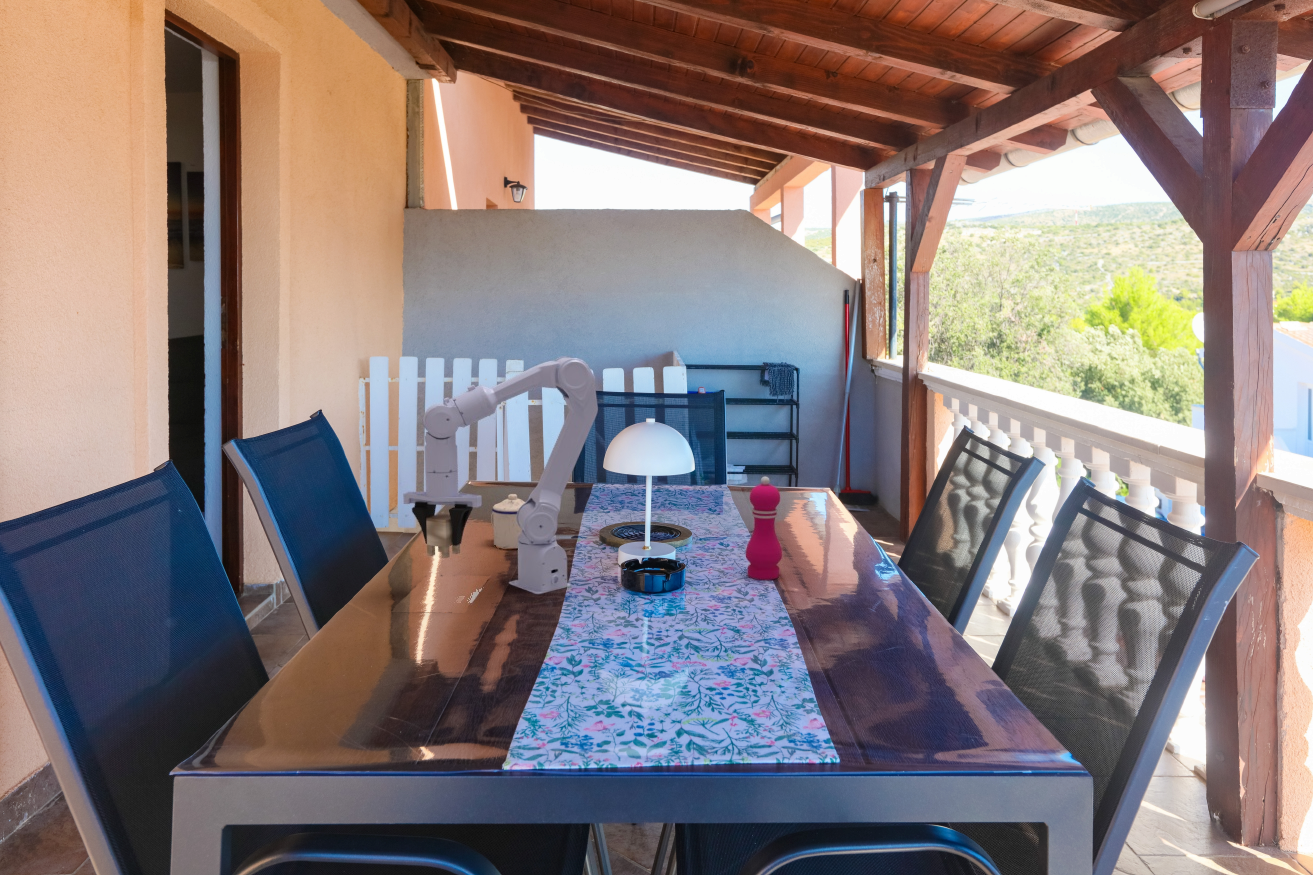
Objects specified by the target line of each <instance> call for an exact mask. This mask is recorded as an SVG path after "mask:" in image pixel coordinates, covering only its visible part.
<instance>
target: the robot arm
mask: <svg viewBox="0 0 1313 875" xmlns="http://www.w3.org/2000/svg"><path fill="white" fill-rule="evenodd" d="M536 388H545V389H546V388H547V389H557V391H558V392H560V394H561V395H562V398H563V399H564V401H565V404H566V405H567V408H568V413H567V415H566V418H565V420H564V422H563V425H562V427H561V429H560V432H559V433H558V435H557V438H556V442H555V443H554V445H553V448H552V450H551V452H550V455H549V457H548V459H547V462H546V464H545V467H544V469H543V471H542V473H541V475H540V478H539V480H538V483H537V485H536V486H535V488H534V489H533V490H532V491H531V492H530V494H529V497H528V498H527V500H526V501H524V502H525V503H524V504H523V505H522V506H521V507H520V508H519V510H518V512H517V517H516V518H517V523H518V525H519V526H520V528H521V529H522V531H521V534H520V535H519V536H518V550H517V574H518V575H517V578H518V579H515V580H512V581H509V582H508V584H509V585H511V586H514V587H516V588H520V589H522V590H525V591H527V592H530V593H533V594H535V595H541V594H544V593H548V592H552V591H556V590H560V589H564V588H568V587H571V583H569V582H568V556H567V552H566V550H565V549H564V548H563V547H561V546H560V545H559V544H558V542H557V535H556V533H557V530H558V516H559V513H560V510H561V502H562V496H563V495H564V491H565V489H566V486H568V483H569V480H570V478H571V475H572V472H573V470H574V468H575V466H576V464H577V461H578V459H579V456H580V455H581V452H582V450H583V447H584V445H585V443H586V440H587V438H588V435H589V433H590V431H591V429H592V426H593V425H594V422H595V420H596V417H597V414H598V412H599V411H598V410H599V406H598V400H597V399H598V398H597V391H596V376H595V375H594V373H593V372H592V369H591V368H590V366H589V365H588V364H587V362H585V360H582V359H581V358H576V357H575V358H574V357H573V358H572V357H569V356H560V357H558V358H556V359H554V360H549V361H545V362H542V363H539V364H536V365H535V366H532V367H530V368H528V369H526V370H525V371H522V372H520V373H519V374H516V375H515V376H512V377H510V378H508V379H506V380H504V381H503V382H501V383H498V384H497V385H494V386H492V387H487V386H485V385H482V384H480V385H478V386H475V384H472V385H469V386H468V387H467V391H464V392H463V393H460V394H458V395H456V396H454V397H451V398H450V397H445V398H443V402H444V404H443V403H437V404H433V405H431V406H430V407H428V408H427V409H426V411H425V412H424V414H423V418H422V420H421V421H422V424H423V427H424V429H425V430H426V432H425V436H424V440H425V446H424V465H425V466H424V469H425V491H407V492H404V493H403V494H402V495H403V504H405V505H410V504H414V506H413V507H412V508H411V513H412V514H413V515H414V517H415V518H416V520H417V522H418V524H419V526H420V529H421V531H422V535H423V538H424V541H425V542H424V543H425V544H426V545H427V523H426V518H428V517H432V516H435V515H436V508H437V505H438V506H453V507H451V508H448V513H449V515H450V517H451V523H452V541H453V546H457V545H459V544H460V545H461V544H462V540H463V537H464V536H463V535H464V530H465V527H466V524H467V522H468V518H469V517H470V516H471V513H472V512H473V510H474V508H476V509H478V508H480V507H482V504H483V503H482V502H483V501H482V499H483V498H482V495H479V494H473V493H472V494H471V493H466V492H465V493H464V492H459V474H458V472H459V471H458V470H459V469H458V466H459V464H458V445H457V440H456V439H457V438H456V434H457V431H458V429H459V428H462V429H463V428H465V427H467V426H470V425H472V424H475V423H476V422H479V421H481V420H483V419H485V418H487V417H490V416H492V415H494V414H495V413H496V411H497V408H498V405H499V404H501V403H503V402H506V401H507V400H511V399H512V398H515V397H518V396H520V395H522V394H524V393H527V392H529V391H533V390H534V389H536Z"/></svg>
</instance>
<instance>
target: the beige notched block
mask: <svg viewBox="0 0 1313 875" xmlns="http://www.w3.org/2000/svg"><path fill="white" fill-rule="evenodd" d="M426 523H427V544H426V551H427V552H426V556H428V557H434V556H436V547H437V552H438V553H441V558H443V559H447V558H450V547H451V549H452V550H451V551H452V552H451V554H453V555H459V554H460V553H461V544H459V545H457V546H453V541H452V523H451V517H450V514H446V513H445V514H444V513H439V514H435V516H432V517H428V518H426Z"/></svg>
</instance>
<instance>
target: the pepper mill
mask: <svg viewBox="0 0 1313 875" xmlns="http://www.w3.org/2000/svg"><path fill="white" fill-rule="evenodd" d="M760 483H761V484H758V485H755V486H754V487H753V488H752V489H751V491H750V494H749V501H750V504H751V505H752V506H753V508H752V509H751V511H752V512H751V516H752V517H753V521H754V525H753V532H752V534H751V536H750V539H749V541H748V542H747V545H746V548H745V558H746V560H747V561H748V562H749V564H748V566H747V576H748V577H749V578H750V579H751V578H752V579H755V580H761V581H764V580H766V581H769V580H770V581H771V580H774V579H777V578H779V577H780V567H779V566H778V563H780V561H781V560H782V558H783V551H782V546H781V544H780V540H779V539H778V537H777V532H776V529H775V526H776V525H775V521H776V517H778V509H777V507H778V505H779V504H780V502H781V493H780V491H779V490H778V488H777V487H775V486H774V485H772V484H771V482H770V478H769V477H768V476H762V478H761V479H760Z"/></svg>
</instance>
